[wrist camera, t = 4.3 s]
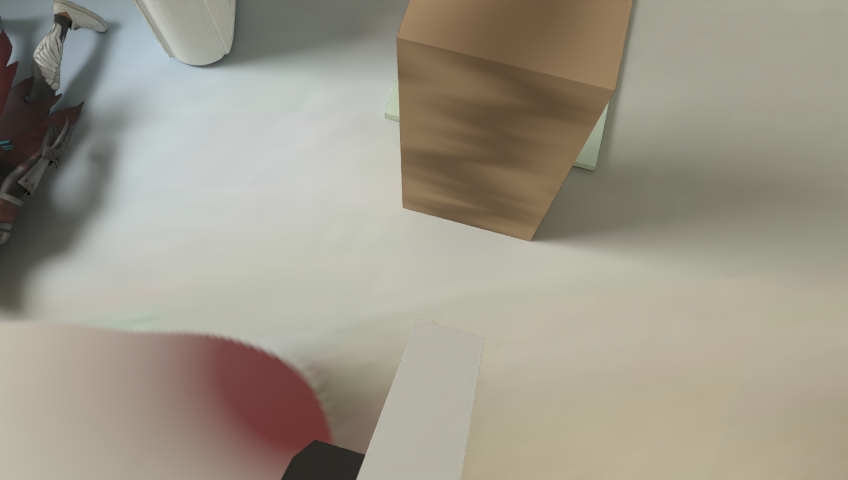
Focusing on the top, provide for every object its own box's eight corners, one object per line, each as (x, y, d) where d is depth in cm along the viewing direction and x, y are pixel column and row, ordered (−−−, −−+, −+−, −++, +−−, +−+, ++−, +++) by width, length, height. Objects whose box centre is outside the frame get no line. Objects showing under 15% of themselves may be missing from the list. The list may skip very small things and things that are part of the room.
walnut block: (402, 207, 32) (396, 37, 19) (422, 144, 33) (430, -58, 20) (529, 241, 32) (615, 90, 18) (545, 175, 33) (634, -10, 20)
